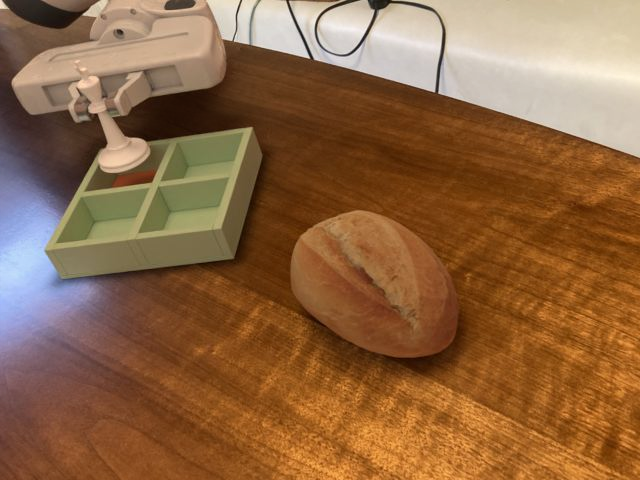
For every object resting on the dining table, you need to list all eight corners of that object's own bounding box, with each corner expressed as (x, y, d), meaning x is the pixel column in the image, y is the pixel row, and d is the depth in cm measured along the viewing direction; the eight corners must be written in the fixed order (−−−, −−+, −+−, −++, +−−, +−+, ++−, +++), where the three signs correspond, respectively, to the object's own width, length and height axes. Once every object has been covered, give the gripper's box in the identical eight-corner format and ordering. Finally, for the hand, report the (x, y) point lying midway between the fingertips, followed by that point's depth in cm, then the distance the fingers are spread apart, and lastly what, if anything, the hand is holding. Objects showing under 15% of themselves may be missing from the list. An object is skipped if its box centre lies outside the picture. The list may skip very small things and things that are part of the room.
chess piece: (134, 138, 76) (89, 43, 69) (159, 152, 73) (115, 54, 67) (91, 163, 74) (40, 67, 67) (115, 179, 71) (64, 80, 64)
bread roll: (397, 406, 52) (374, 323, 46) (270, 310, 61) (238, 231, 55) (494, 324, 55) (483, 238, 50) (361, 245, 65) (340, 166, 59)
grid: (61, 279, 69) (43, 250, 66) (114, 176, 80) (100, 148, 78) (234, 259, 66) (221, 228, 64) (262, 155, 78) (252, 126, 76)
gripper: (30, 29, 79) (-28, 97, 69) (221, -4, 76) (190, 62, 66) (59, 85, 83) (9, 157, 73) (241, 56, 80) (215, 127, 70)
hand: (97, 112), depth 69 cm, fingers closed on chess piece
